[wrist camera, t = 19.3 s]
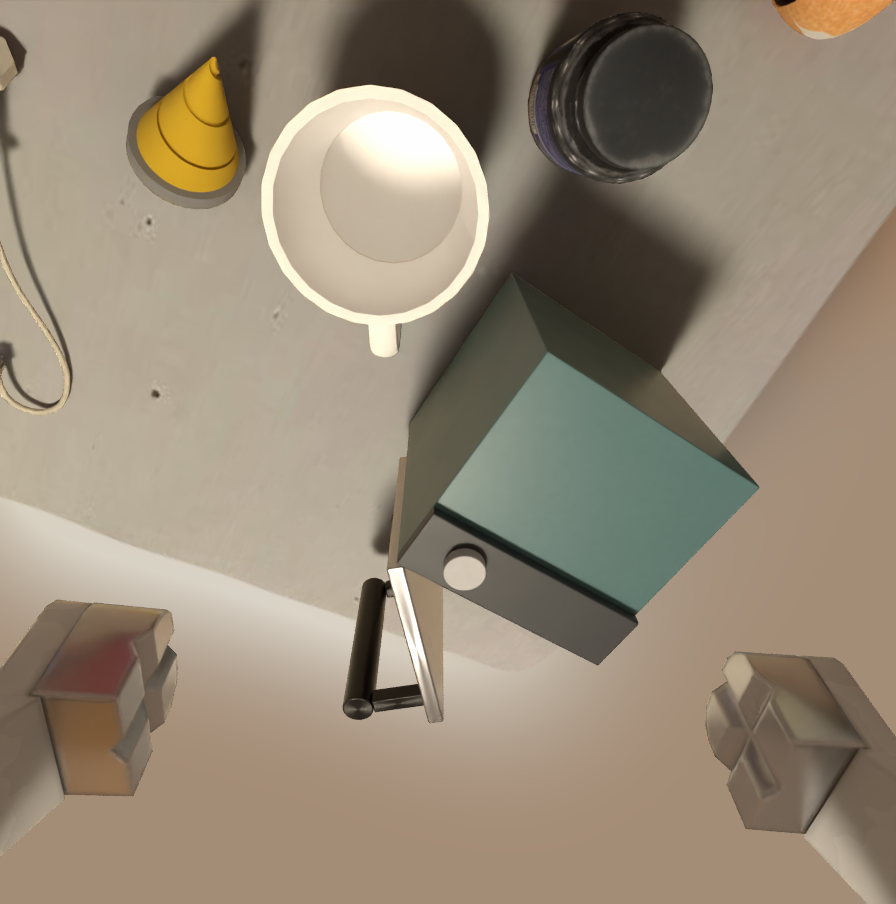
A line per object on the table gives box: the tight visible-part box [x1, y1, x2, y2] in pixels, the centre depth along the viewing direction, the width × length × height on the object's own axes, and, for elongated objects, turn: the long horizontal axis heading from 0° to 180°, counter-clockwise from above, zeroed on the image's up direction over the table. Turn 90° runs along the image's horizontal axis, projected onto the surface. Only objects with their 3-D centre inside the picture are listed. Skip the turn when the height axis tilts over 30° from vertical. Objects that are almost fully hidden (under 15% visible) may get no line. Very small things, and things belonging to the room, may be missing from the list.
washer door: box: [343, 457, 443, 723], centre depth 37 cm, size 5×10×11 cm, turn 10°
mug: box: [262, 85, 489, 357], centre depth 31 cm, size 11×9×10 cm
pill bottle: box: [528, 12, 713, 184], centre depth 29 cm, size 6×6×11 cm
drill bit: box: [126, 57, 246, 209], centre depth 31 cm, size 5×5×10 cm
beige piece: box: [0, 36, 71, 415], centre depth 36 cm, size 5×3×20 cm
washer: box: [397, 273, 759, 665], centre depth 34 cm, size 11×11×15 cm
